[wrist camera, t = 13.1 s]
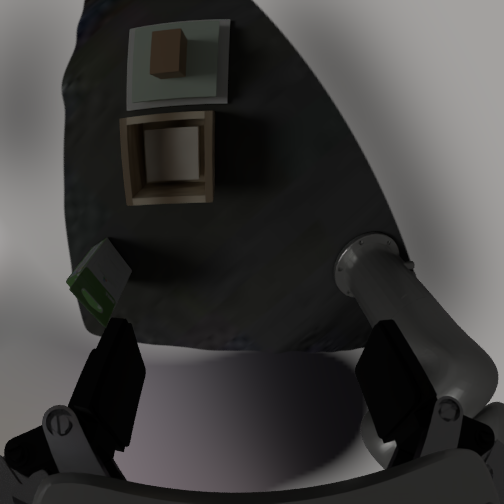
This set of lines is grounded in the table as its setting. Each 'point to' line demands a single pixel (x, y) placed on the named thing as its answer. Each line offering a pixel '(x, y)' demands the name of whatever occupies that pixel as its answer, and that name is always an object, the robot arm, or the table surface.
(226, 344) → the table surface
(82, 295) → the ink box
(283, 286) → the table surface
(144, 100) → the lid
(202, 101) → the felt mat
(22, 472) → the robot arm
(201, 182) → the keepsake box
